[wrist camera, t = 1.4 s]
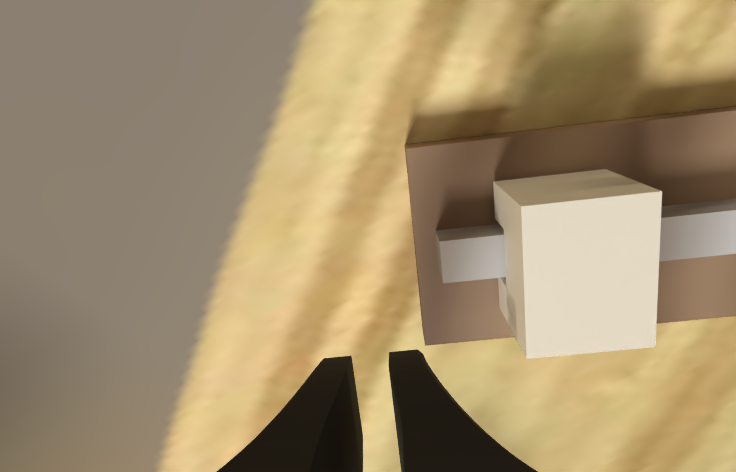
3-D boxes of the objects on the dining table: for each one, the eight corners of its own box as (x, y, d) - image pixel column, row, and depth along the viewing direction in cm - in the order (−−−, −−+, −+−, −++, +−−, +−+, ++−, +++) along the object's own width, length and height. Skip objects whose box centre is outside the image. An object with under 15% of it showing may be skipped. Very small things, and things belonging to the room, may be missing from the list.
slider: (605, 168, 19) (662, 190, 15) (603, 297, 20) (655, 347, 16) (493, 181, 19) (521, 206, 15) (499, 307, 20) (526, 358, 17)
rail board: (894, 87, 19) (1025, 89, 15) (862, 289, 21) (967, 335, 17) (404, 144, 20) (410, 159, 16) (423, 331, 22) (431, 384, 18)
